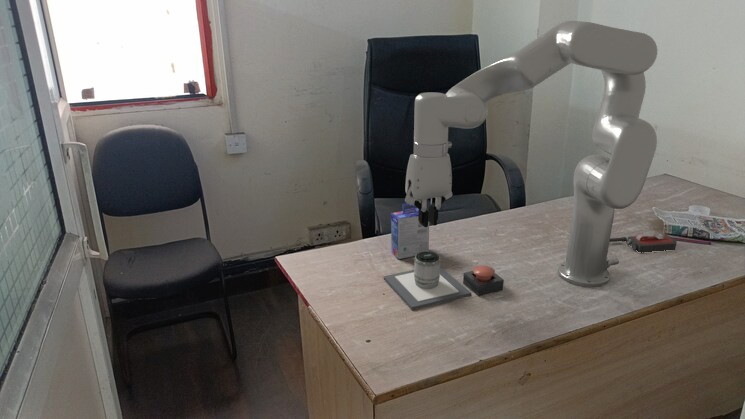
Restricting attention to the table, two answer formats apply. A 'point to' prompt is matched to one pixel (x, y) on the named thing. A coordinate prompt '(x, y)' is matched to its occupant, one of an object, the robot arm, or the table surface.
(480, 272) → the button
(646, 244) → the walkie-talkie
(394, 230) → the ink cartridge box
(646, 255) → the table surface
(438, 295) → the desk mat
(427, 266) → the camera lens
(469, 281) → the button housing
